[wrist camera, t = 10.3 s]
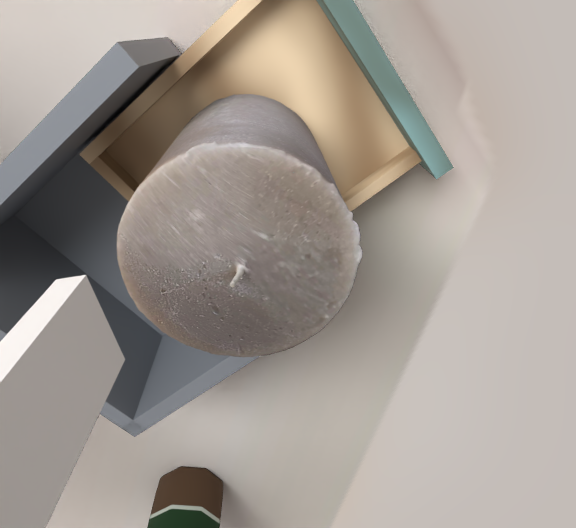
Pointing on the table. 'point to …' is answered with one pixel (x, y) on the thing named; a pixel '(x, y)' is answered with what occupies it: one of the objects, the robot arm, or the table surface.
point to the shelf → (283, 96)
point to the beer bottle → (187, 500)
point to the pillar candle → (240, 233)
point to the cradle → (94, 238)
